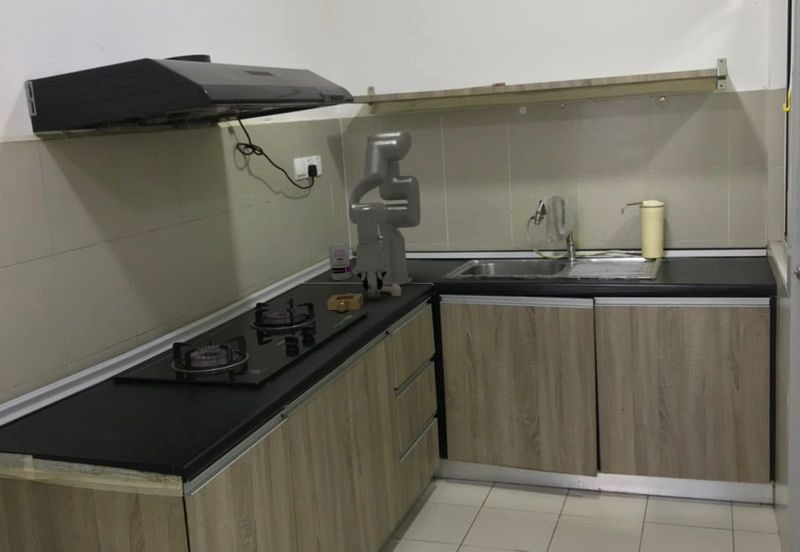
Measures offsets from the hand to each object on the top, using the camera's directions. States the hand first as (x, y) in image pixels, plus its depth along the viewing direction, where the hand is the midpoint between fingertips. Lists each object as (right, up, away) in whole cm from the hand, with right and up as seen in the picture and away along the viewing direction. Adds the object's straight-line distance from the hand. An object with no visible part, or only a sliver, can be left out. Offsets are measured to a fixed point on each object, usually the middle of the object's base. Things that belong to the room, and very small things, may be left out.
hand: (373, 289), depth 310 cm
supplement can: (-15, +3, +51) cm, 53 cm away
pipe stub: (0, -2, 0) cm, 2 cm away
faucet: (+3, -2, +13) cm, 14 cm away
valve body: (-10, -6, -7) cm, 13 cm away
